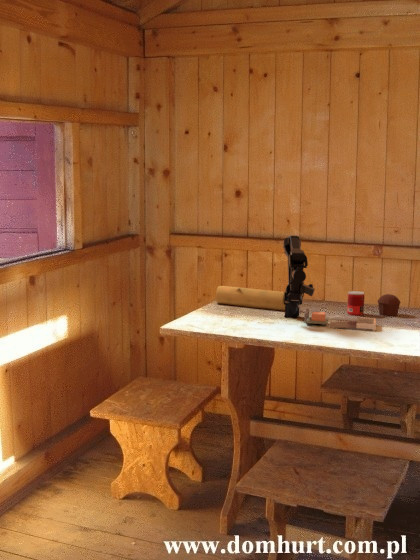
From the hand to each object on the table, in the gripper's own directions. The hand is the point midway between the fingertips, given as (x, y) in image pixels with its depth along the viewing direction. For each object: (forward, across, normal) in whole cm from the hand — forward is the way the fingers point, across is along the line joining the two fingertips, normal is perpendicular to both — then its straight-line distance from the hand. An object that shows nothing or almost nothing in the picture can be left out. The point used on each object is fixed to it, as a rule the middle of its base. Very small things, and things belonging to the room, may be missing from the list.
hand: (295, 312), depth 374 cm
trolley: (+5, 0, -10) cm, 11 cm away
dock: (+6, 0, -26) cm, 27 cm away
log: (+6, +34, +25) cm, 43 cm away
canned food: (+5, +30, -27) cm, 41 cm away
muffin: (+5, +34, -43) cm, 55 cm away
